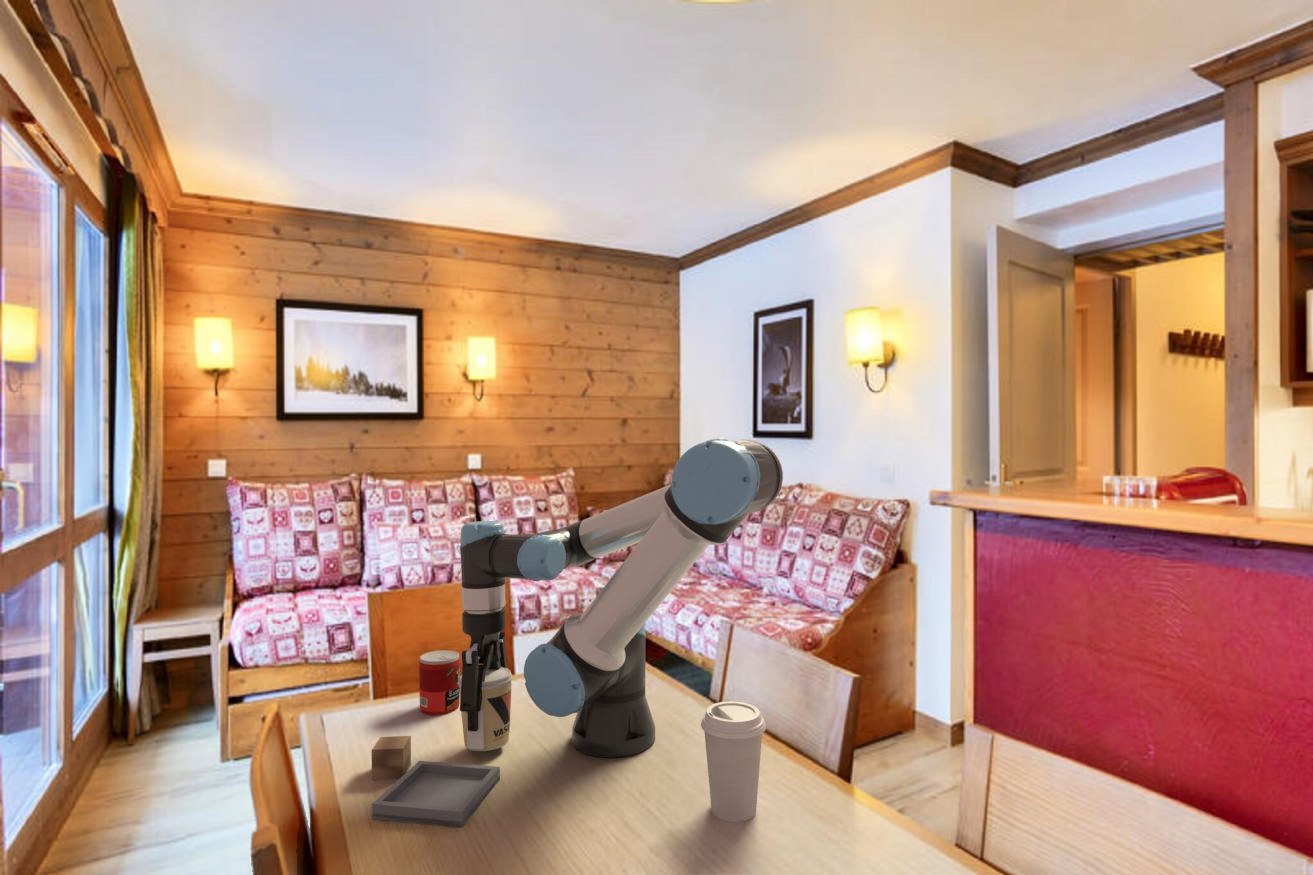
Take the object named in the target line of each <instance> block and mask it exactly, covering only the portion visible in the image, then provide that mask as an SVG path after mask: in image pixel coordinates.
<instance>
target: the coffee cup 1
mask: <svg viewBox="0 0 1313 875" xmlns="http://www.w3.org/2000/svg"><path fill="white" fill-rule="evenodd" d="M512 681H513V674H512V673H511V670H510V669H509V668H508V669H507V668H503V667H500V669H499V670H491V669H488V670H487V671H486V676H485V681H484V682H482V703H481V709H483V715H484V748H483V749H468V748H467V712H463V711H460V712H461V721H462V734H463V741H464V747H465V748H466V749H468V750H470V751H473V752H474V751H475V752H487V751H488V752H489V751H494V750H497V749H500V748H502V747H504V746H506V745H507V743H509V740H510V732H511V731H510V728H511V708H512V707H511V706H512V705H511V704H512ZM461 682H462V674H461V675H460V679H459V680H458V685H459V689H460V697H461Z"/></svg>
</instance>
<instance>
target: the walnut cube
mask: <svg viewBox="0 0 1313 875" xmlns="http://www.w3.org/2000/svg"><path fill="white" fill-rule="evenodd" d="M411 739H412V735H397V736H396V735H395V736H380V737H379V739H378V740H377V741H376V743H375V744H374V746H373V747H372V749H371V781H378V780H381V781H382V780H383V781H384V780H399V779H400V778H401V777H402V776H403V775H404V774H406V773H407V772H408V771H409V770H410V766H411V765H412V740H411Z"/></svg>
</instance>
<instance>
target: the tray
mask: <svg viewBox="0 0 1313 875" xmlns="http://www.w3.org/2000/svg"><path fill="white" fill-rule="evenodd" d="M500 781H501V767H500V766H491V765H481V764H480V765H479V764H467V763H465V764H464V763H456V762H455V763H453V762H443V761H442V762H439V761H428V760H427V761H425V760H419V761H418V762H417V763H415V764H414V765H413V766H412V767H411V768H409V769H408V771H407V773H406V774H404V775H403V776H402V777H401V778H400V779H397V781H395V782H394V783H393V784H392V785H391V786H390V787H389V788H388V789H387V790H385V791H384V793H382V794H380V795H379V796H378V797H377V799H375V801H373V802H372V804H371V819H372V820H379V821H387V822H388V821H392V822H401V823H412V824H421V825H422V824H423V825H432V826H443V827H444V826H445V827H454V828H463V827H464V825H466V824H467V822H468V820H470V818H471V817H472V816H473V814H474V813H475V812H476V810H478V808H479V807H480V806H481V804H482V803H483V802H484V801H485V799H486V798H487V797H488V795H490V793H491V792H492V791H493V789H494V788H495V787H496V785H497V784H498V783H499V782H500Z"/></svg>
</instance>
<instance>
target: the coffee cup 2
mask: <svg viewBox="0 0 1313 875" xmlns="http://www.w3.org/2000/svg"><path fill="white" fill-rule="evenodd" d="M765 721H766V720H764V717H763V716H762V713H761V711H760V710H759V708H757V707H756V706H755V705H753V704H750V703H747V702H742V701H741V702H740V701H731V700H729V701H720V702H715V703H713V704H711V705H709V706H708V707H707V708H706V710H705V713H704V714H703V716H702V718H701V722H700V728H701V729H702V730H703V732H704V740H705V742H704V743H705V750H706V762H707V774H708V775H707V776H708V783H709V784H708V785H709V797H710V807H711V808H710V809H711V813H712V815H713V816H715V817H716V818H717V819H719V820H721V821H725V822H730V823H741V822H746V821H749V820H751V819H752V818H754V817H755V816H756V813H757V807H758V806H757V804H758V792H759V779H760V768H761V765H760V763H761V753H762V741H763V733H765V731H766V728H767V725H766V722H765Z"/></svg>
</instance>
